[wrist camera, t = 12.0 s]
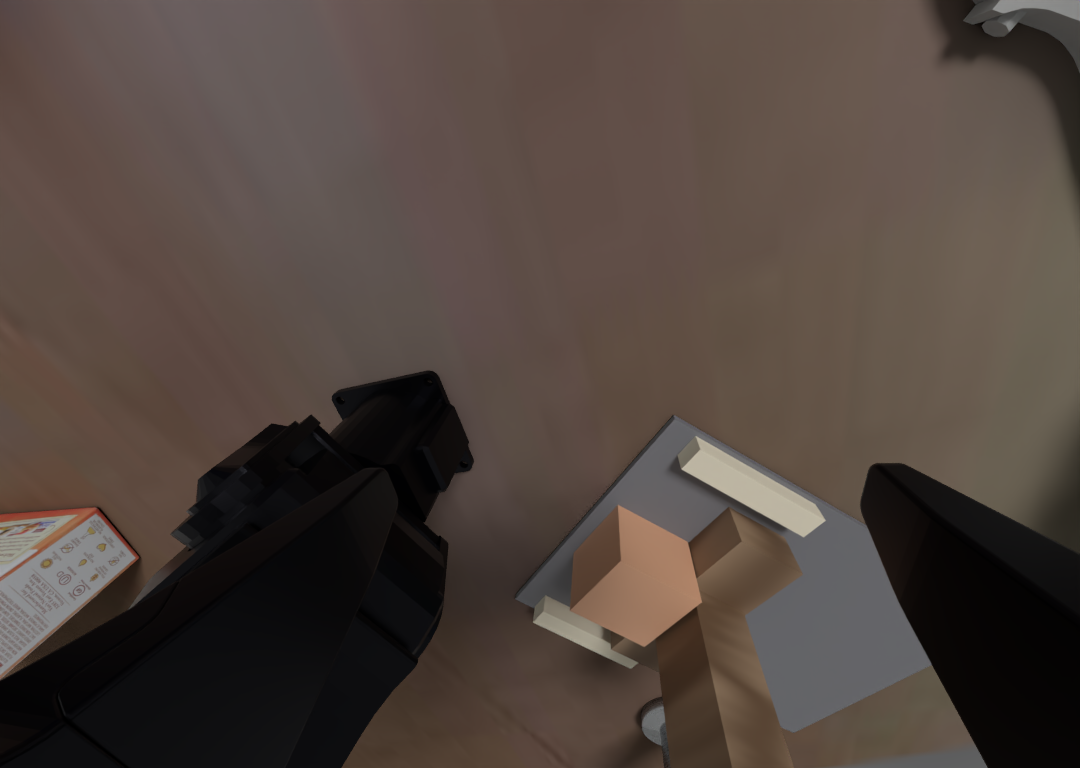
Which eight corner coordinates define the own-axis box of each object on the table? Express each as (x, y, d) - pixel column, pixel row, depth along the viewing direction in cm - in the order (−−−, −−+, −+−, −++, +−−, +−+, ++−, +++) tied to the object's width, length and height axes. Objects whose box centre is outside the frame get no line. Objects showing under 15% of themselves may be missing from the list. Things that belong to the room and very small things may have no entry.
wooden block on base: (609, 613, 29) (615, 865, 19) (728, 506, 24) (831, 777, 13) (657, 636, 30) (689, 895, 19) (784, 537, 24) (927, 822, 14)
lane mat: (516, 594, 30) (512, 615, 29) (673, 414, 22) (678, 431, 21) (791, 726, 33) (799, 751, 32) (1018, 612, 25) (1043, 639, 24)
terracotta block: (573, 552, 27) (569, 610, 24) (617, 504, 25) (621, 560, 21) (638, 585, 28) (644, 646, 24) (687, 541, 25) (702, 602, 22)
